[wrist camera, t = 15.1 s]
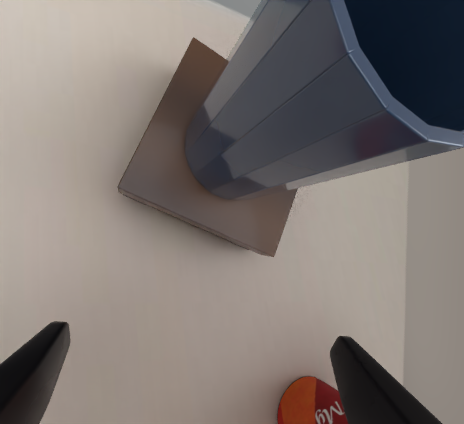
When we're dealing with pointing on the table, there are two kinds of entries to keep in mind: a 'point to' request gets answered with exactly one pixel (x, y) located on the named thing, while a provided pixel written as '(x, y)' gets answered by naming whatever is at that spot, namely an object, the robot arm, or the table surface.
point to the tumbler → (330, 94)
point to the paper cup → (311, 403)
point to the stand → (180, 176)
